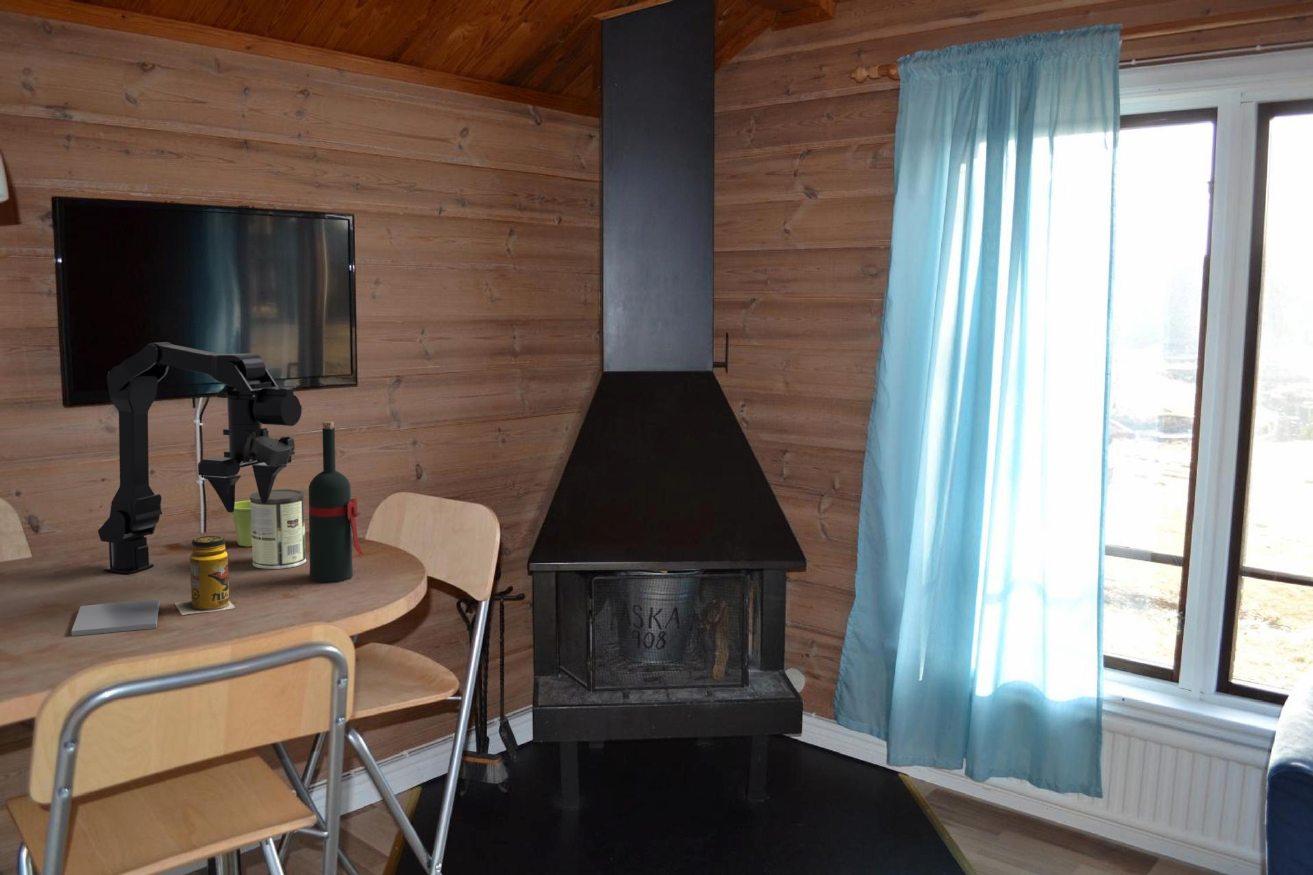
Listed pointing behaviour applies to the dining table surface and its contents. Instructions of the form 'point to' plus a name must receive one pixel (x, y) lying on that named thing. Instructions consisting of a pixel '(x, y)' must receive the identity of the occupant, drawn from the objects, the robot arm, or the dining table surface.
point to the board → (116, 617)
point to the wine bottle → (331, 518)
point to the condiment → (208, 577)
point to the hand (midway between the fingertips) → (248, 507)
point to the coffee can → (278, 529)
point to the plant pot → (243, 523)
